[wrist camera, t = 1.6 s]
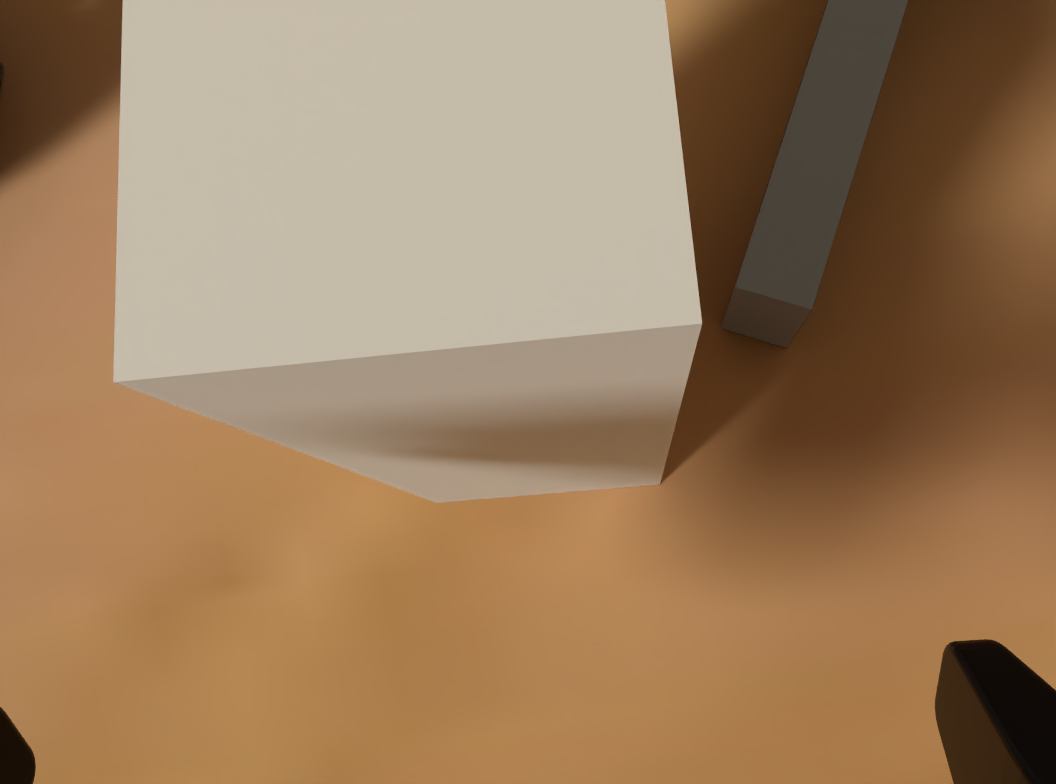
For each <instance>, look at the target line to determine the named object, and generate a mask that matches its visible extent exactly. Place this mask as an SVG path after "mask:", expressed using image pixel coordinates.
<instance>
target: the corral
mask: <svg viewBox="0 0 1056 784" xmlns="http://www.w3.org/2000/svg"><path fill="white" fill-rule="evenodd" d="M907 3H908V0H828V3H827V6H826V9H825V12H824V15H823V18H822V21H821V24H820V27H819V30H818V33H817V36H816V39H815V42H814V45H813V48H812V52H811V55H810V58H809V61H808V64H807V67H806V70H805V73H804V76H803V79H802V82H801V85H800V88H799V91H798V94H797V97H796V100H795V104H794V107H793V110H792V113H791V116H790V119H789V122H788V125H787V128H786V131H785V134H784V137H783V140H782V143H781V146H780V149H779V152H778V155H777V159H776V162H775V165H774V168H773V171H772V174H771V177H770V180H769V183H768V186H767V189H766V192H765V195H764V198H763V201H762V204H761V207H760V211H759V214H758V217H757V220H756V223H755V226H754V229H753V232H752V235H751V238H750V241H749V244H748V247H747V250H746V253H745V256H744V259H743V263H742V266H741V269H740V272H739V275H738V278H737V281H736V284H735V287H734V290H733V293H732V296H731V299H730V302H729V305H728V308H727V311H726V314H725V318H724V321H723V324H722V327H721V328H722V329H725V330H728V331H732V332H735V333H738V334H741V335H745V336H748V337H751V338H755V339H758V340H761V341H765V342H768V343H771V344H774V345H778V346H781V347H784V348H787V347H788V345H789V344H790V342H791V341H792V339H793V338H794V336H795V335H796V333H797V332H798V330H799V328H800V327H801V325H802V324H803V322H804V321H805V319H806V318H807V316H808V315H809V313H810V312H811V310H812V308H813V305H814V301H815V298H816V295H817V292H818V288H819V285H820V282H821V279H822V276H823V272H824V269H825V266H826V263H827V260H828V256H829V253H830V250H831V247H832V244H833V240H834V237H835V234H836V231H837V228H838V224H839V221H840V218H841V215H842V211H843V208H844V205H845V202H846V199H847V195H848V192H849V189H850V186H851V183H852V179H853V176H854V173H855V170H856V167H857V163H858V160H859V157H860V154H861V151H862V147H863V144H864V141H865V138H866V135H867V131H868V128H869V125H870V122H871V118H872V115H873V112H874V109H875V106H876V102H877V99H878V96H879V93H880V90H881V86H882V83H883V80H884V77H885V74H886V70H887V67H888V64H889V61H890V58H891V54H892V51H893V48H894V45H895V41H896V38H897V35H898V32H899V29H900V25H901V22H902V19H903V16H904V13H905V9H906V6H907Z"/></svg>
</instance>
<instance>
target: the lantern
mask: <svg viewBox="0 0 1056 784" xmlns="http://www.w3.org/2000/svg"><path fill="white" fill-rule="evenodd" d="M2 68H3V66H2V63H1V62H0V83H1V76H2Z"/></svg>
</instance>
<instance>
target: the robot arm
mask: <svg viewBox="0 0 1056 784" xmlns="http://www.w3.org/2000/svg"><path fill="white" fill-rule="evenodd" d="M935 713H936V720H937V725H938V729H939V733H940V736H941V740H942V743H943V747H944V751H945V754H946V758H947V761H948V765H949V768H950V772H951V775H952V779H953V782H954V784H1056V690H1055V689H1053V688H1052V687H1051V686H1050V685H1049V684H1048V683H1047V682H1045V681H1044V680H1043V679H1042V678H1041V677H1040V676H1038V675H1037V674H1036V673H1035V672H1034V671H1033V670H1031V669H1030V668H1029V667H1028V666H1027V665H1026V664H1024V663H1023V662H1022V661H1021V660H1020V659H1019V658H1018V657H1016V656H1015V655H1014V654H1013V653H1012V652H1011V651H1009V650H1008V649H1007V648H1006V647H1005V646H1003V645H1002V644H1000V643H998V642H996V641H994V640H987V639H984V640H969V641H954V642H951V643H949V644H948V645H947V646H946V647H945V649H944V652H943V657H942V663H941V669H940V674H939V680H938V686H937V692H936V698H935ZM35 768H36V765H35V757H34V753H33V751H32V749H31V748H30V747H29V745H28V744H27V742H26V741H25V739H24V738H23V737H22V735H21V734H20V732H19V731H18V729H17V728H16V727H15V725H14V724H13V722H12V721H11V719H10V718H9V717H8V715H7V714H6V712H5V711H4V710H3V709H2V708H1V707H0V784H33V781H34V777H35Z"/></svg>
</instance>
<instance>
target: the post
mask: <svg viewBox="0 0 1056 784" xmlns="http://www.w3.org/2000/svg"><path fill="white" fill-rule="evenodd" d="M701 326H702V317H701V309H700V300H699V291H698V283H697V274H696V266H695V257H694V248H693V240H692V231H691V222H690V214H689V205H688V196H687V188H686V179H685V170H684V162H683V153H682V145H681V136H680V127H679V119H678V110H677V101H676V93H675V84H674V75H673V67H672V58H671V50H670V41H669V32H668V24H667V15H666V6H665V0H123V7H122V48H121V89H120V131H119V172H118V213H117V254H116V296H115V337H114V378H113V382H114V383H117V384H120V385H122V386H125V387H128V388H130V389H133V390H136V391H138V392H141V393H144V394H146V395H149V396H152V397H154V398H157V399H160V400H162V401H165V402H168V403H170V404H173V405H176V406H178V407H181V408H184V409H187V410H189V411H192V412H195V413H197V414H200V415H203V416H205V417H208V418H211V419H213V420H216V421H219V422H221V423H224V424H227V425H229V426H232V427H235V428H237V429H240V430H243V431H245V432H248V433H251V434H253V435H256V436H259V437H262V438H264V439H267V440H270V441H272V442H275V443H278V444H280V445H283V446H286V447H288V448H291V449H294V450H296V451H299V452H302V453H304V454H307V455H310V456H312V457H315V458H318V459H320V460H323V461H326V462H328V463H331V464H334V465H337V466H339V467H342V468H345V469H347V470H350V471H353V472H355V473H358V474H361V475H363V476H366V477H369V478H371V479H374V480H377V481H379V482H382V483H385V484H387V485H390V486H393V487H395V488H398V489H401V490H403V491H406V492H409V493H412V494H414V495H417V496H420V497H422V498H425V499H428V500H430V501H433V502H436V503H442V502H454V501H466V500H478V499H490V498H502V497H514V496H526V495H538V494H551V493H563V492H575V491H587V490H599V489H611V488H623V487H635V486H647V485H659V484H660V482H661V478H662V475H663V471H664V467H665V463H666V459H667V455H668V452H669V448H670V444H671V440H672V436H673V433H674V429H675V425H676V421H677V417H678V414H679V410H680V406H681V402H682V398H683V395H684V391H685V387H686V383H687V379H688V376H689V372H690V368H691V364H692V360H693V357H694V353H695V349H696V345H697V341H698V338H699V334H700V330H701Z"/></svg>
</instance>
